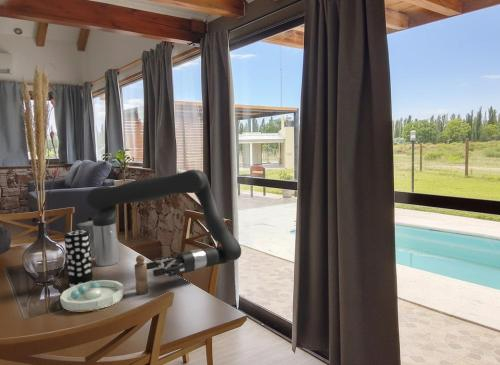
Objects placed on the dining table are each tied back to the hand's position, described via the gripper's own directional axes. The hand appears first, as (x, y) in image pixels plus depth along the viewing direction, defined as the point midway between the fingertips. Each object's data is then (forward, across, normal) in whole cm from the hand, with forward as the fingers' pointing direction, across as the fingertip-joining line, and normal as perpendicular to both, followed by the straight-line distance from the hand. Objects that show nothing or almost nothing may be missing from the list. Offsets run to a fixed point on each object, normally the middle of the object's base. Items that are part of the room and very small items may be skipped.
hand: (149, 270), depth 137 cm
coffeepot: (+6, -58, +8) cm, 58 cm away
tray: (+18, -4, +8) cm, 20 cm away
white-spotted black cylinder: (+19, -20, +8) cm, 29 cm away
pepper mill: (+3, 0, +7) cm, 8 cm away
